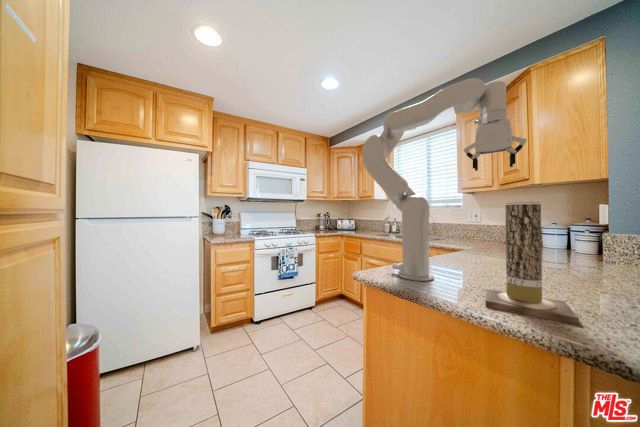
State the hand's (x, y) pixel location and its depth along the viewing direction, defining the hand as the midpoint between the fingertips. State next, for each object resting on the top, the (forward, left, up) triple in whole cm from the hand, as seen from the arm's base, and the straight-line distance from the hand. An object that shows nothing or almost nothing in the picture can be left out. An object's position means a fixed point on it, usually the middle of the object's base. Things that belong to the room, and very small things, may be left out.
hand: (493, 168), depth 77 cm
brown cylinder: (+6, -20, -39) cm, 44 cm away
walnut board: (+6, -21, -40) cm, 46 cm away
